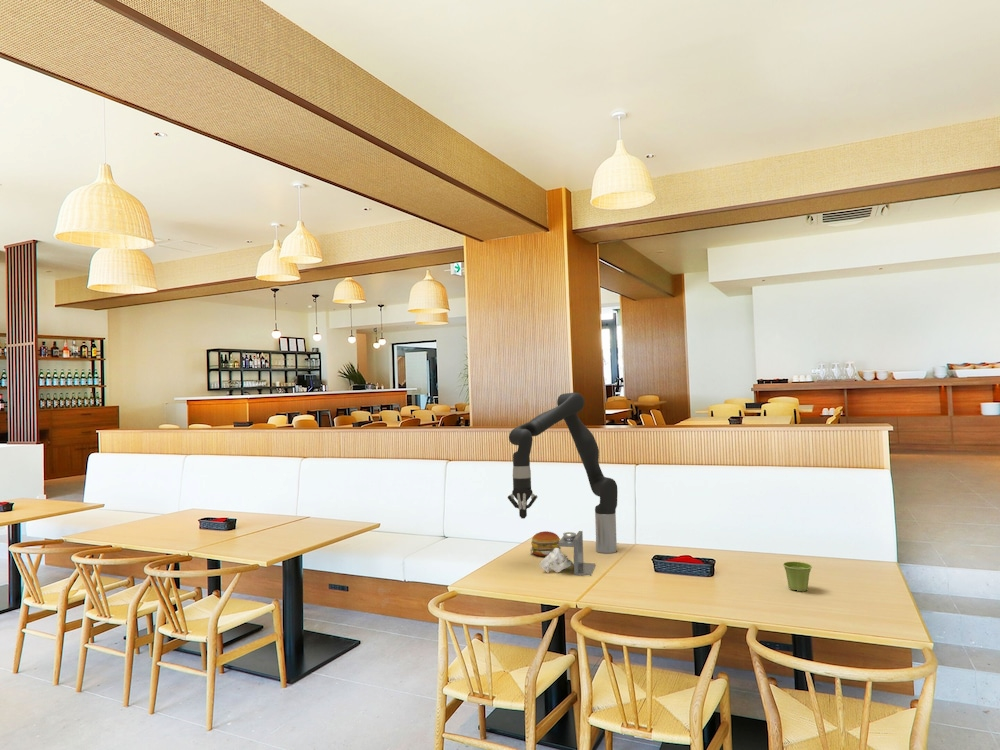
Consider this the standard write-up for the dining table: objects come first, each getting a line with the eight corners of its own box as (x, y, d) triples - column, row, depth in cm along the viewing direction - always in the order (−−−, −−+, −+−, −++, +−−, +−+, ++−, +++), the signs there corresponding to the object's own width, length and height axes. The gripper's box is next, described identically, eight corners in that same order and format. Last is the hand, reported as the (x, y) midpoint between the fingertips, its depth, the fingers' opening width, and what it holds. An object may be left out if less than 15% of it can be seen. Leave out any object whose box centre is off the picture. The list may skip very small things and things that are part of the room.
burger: (561, 558, 281) (560, 535, 282) (530, 558, 282) (529, 535, 282) (560, 550, 295) (559, 528, 295) (530, 550, 295) (530, 528, 296)
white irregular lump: (570, 567, 254) (552, 549, 257) (555, 582, 256) (538, 564, 258) (577, 560, 265) (560, 543, 268) (563, 575, 267) (547, 557, 270)
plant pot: (816, 594, 224) (815, 568, 225) (787, 592, 226) (786, 568, 226) (808, 586, 233) (807, 561, 234) (780, 585, 235) (780, 561, 235)
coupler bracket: (565, 563, 271) (564, 529, 271) (595, 565, 268) (594, 530, 268) (559, 574, 256) (558, 537, 256) (590, 576, 252) (589, 538, 253)
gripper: (539, 475, 271) (540, 516, 271) (508, 475, 275) (509, 516, 274) (535, 477, 264) (536, 520, 264) (504, 477, 267) (505, 519, 267)
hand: (523, 518), depth 269 cm, fingers closed
